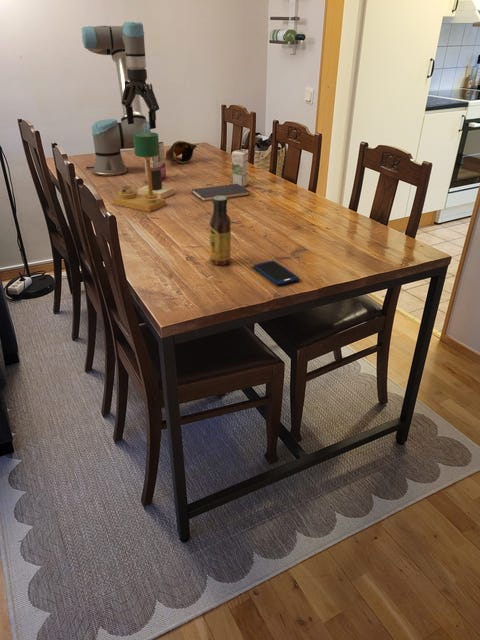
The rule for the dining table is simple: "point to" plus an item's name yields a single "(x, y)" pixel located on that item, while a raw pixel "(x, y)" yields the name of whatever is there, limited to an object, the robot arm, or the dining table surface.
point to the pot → (181, 151)
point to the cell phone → (276, 272)
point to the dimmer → (157, 191)
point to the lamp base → (138, 201)
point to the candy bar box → (158, 161)
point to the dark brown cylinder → (156, 178)
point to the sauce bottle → (220, 232)
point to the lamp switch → (126, 190)
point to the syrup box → (240, 167)
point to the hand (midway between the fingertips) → (141, 126)
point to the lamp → (147, 154)
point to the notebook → (220, 191)
